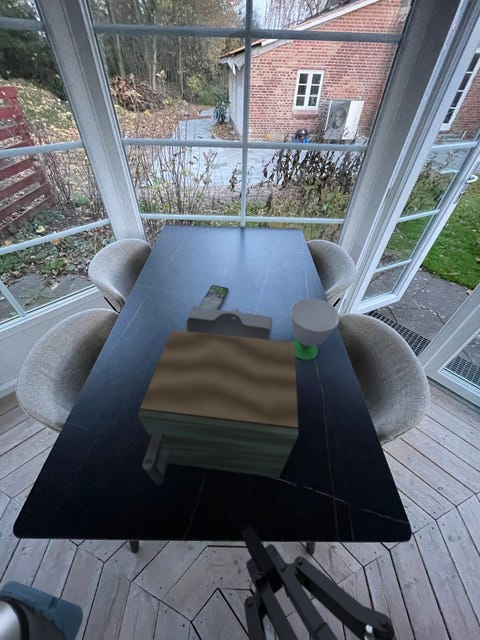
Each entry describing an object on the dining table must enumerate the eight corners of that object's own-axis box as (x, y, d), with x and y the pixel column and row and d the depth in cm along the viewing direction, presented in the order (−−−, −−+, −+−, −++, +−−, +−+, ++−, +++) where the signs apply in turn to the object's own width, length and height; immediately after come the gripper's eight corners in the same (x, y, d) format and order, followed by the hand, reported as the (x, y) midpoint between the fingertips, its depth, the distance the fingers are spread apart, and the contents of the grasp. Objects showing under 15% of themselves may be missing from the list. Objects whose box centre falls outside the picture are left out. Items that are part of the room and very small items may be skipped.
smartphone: (229, 288, 106) (217, 312, 95) (229, 290, 106) (217, 314, 96) (211, 284, 107) (197, 308, 96) (211, 287, 108) (198, 310, 97)
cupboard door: (278, 510, 55) (300, 476, 38) (155, 492, 57) (122, 453, 40) (279, 473, 60) (298, 429, 43) (165, 458, 61) (139, 409, 44)
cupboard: (279, 472, 60) (298, 427, 43) (165, 457, 62) (140, 408, 44) (279, 399, 73) (294, 342, 55) (185, 389, 74) (171, 330, 57)
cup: (332, 362, 82) (349, 327, 71) (290, 369, 80) (300, 334, 69) (315, 330, 91) (327, 295, 80) (277, 336, 89) (284, 300, 78)
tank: (270, 329, 91) (274, 302, 83) (265, 367, 80) (270, 340, 71) (200, 319, 94) (197, 292, 85) (186, 354, 83) (181, 327, 74)
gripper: (372, 1153, 10) (213, 597, 32) (532, 821, 15) (298, 532, 37) (315, 1007, 10) (192, 543, 32) (499, 710, 15) (281, 484, 36)
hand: (249, 537), depth 34 cm, fingers closed
